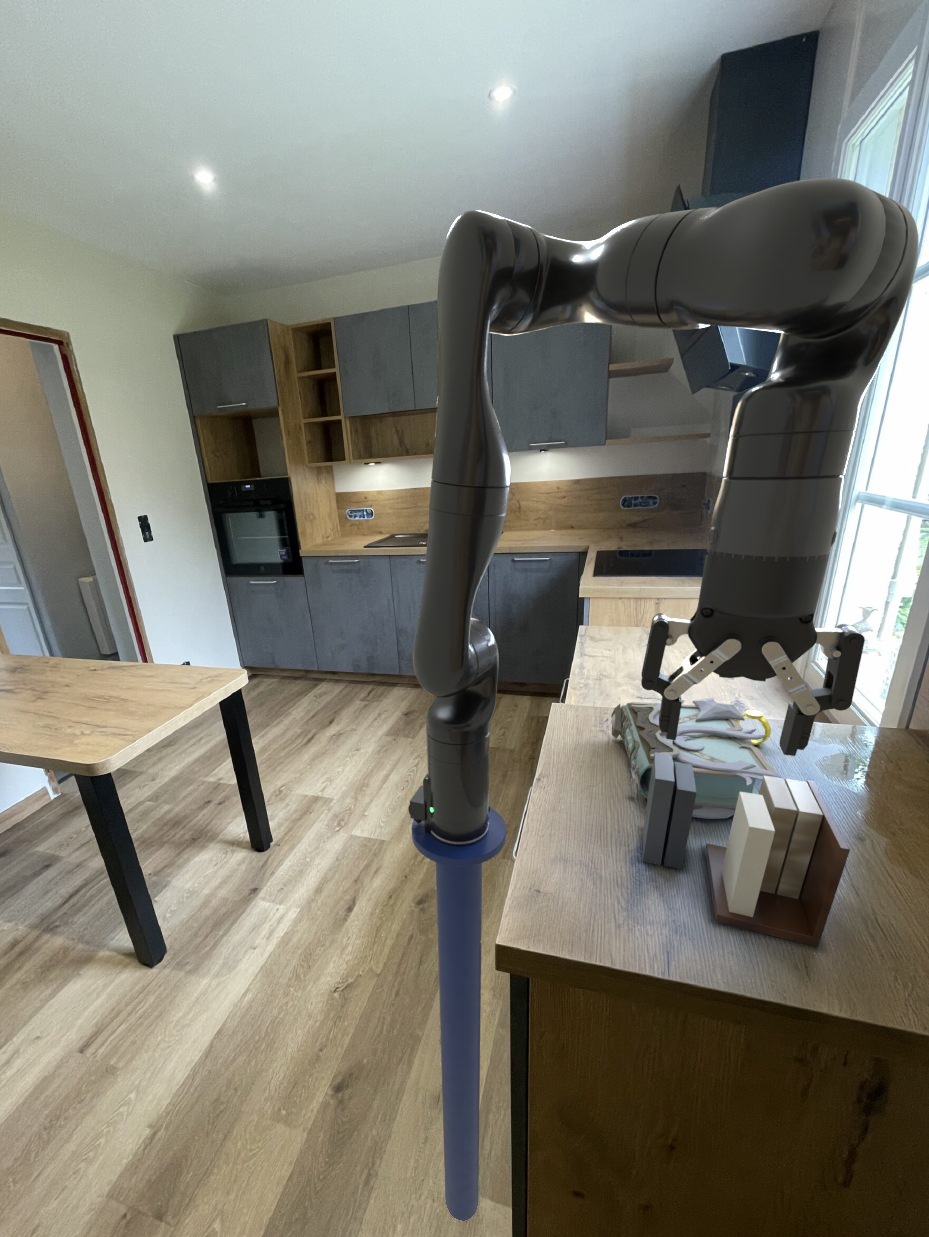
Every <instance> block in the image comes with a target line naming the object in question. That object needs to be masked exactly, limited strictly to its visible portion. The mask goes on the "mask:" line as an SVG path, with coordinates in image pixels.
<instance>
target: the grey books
mask: <svg viewBox="0 0 929 1237" xmlns="http://www.w3.org/2000/svg"><path fill="white" fill-rule="evenodd" d="M695 798H696V786H695V779H694V773H693V766H692V764H686V763H679V762H674V768H673V758H672V755H671V754H664V753H657V752H655V753H654V760H653V767H652V773H651V780H650V787H649V794H648V799H647V801H646V808H645V814H644V821H643V828H642V862H644V863H647V864H648V863H649V864H654V865H656V866H657V865H658V866H661V864H662V860H663V866H664V867H667V868H673V869H677V870H683V867H684V863H685V862H684V861H685V856H686V850H687V846H688V841H689V836H690V829H691V824H692V820H693V819H692V818H693V816H692V814H693V809H694V803H695Z"/></svg>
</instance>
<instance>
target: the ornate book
mask: <svg viewBox="0 0 929 1237" xmlns="http://www.w3.org/2000/svg"><path fill="white" fill-rule="evenodd" d="M648 699H649V700H651V699H654V700H659V701H660V703H657V702H641V701H640V702H639V701H631V702H627V703H626V704H625V705H624V704H623V705H621V703H619V704H618V705H616V706H615V707H614V708H613V711H612V713H611V719H610V723H611V735H612V736H613V737H614V739H617V738H619V737H620V739H621V740H622V742H623V745H624V747H625V751H626V754H627V757H628V765H629V769H630V774H631V777H632V778H630V781H629V784H630V787H631V798H634V802H637V796H638V791H639V792H640V794H641V796H642V797H643V798H645V799H647V800H648V794H649V787H650V780H651V773H652V767H653V760H654V753H655V752H657V753H664V754H671V755H672V758H673V768H674V762H679V763H686V764H692V766H693V773H694V779H695V786H696V798H695V803H694V809H693V814H692V818H699V819H708V820H710V819H711V820H714V819H715V820H716V819H717V820H718V819H719V820H720V819H728V818H730V817H732V816H734V814H735V809H736V805H737V800H738V796H739V792H746V793H752V794H758V795H759V791H760V789H759V788H758V786H757V785H756V780H758V781H761V782H762V778H763V776H770V777H777V778H783V779H784V781H785V779H786V778H784V777H782V776H781V775H780V774H779V773H778V772H777V771H776V770H775V769H774V768H773V767H772V766H771V765H770V763H769V762H768V761H767V759H766V758H765V757H764V755H763V753H762V751H761V750H760V748H758V747H756V746H755V744H754V743H753V742H752V741H751V740H756V741H758V740H762V739H763V738H764V737H766V736H767V735H765V734H755V732H756V731H757V728H754V729H746V730H743V726H742V725H741V724H740V723H739V724H738V722H737V721H736V720H740V721H744V722H745V717H744V716H742V714H741V712H740V711H739V710H738V709H737V707H736V706H735V704H733V703H725V702H716V701H715V700H714V699H715V698H714V697H708V698H703V699H702V698H701V699H695V700H692V704H684V703H685V700H683V699H682V705H681V711H680V717H679V723H678V729H677V735H676V740H670V739H666V732H661V730H660V727H659V714H660V708H661V701H662V697H661V698H660V697H653V696H651V697H642V698H640V700H648Z"/></svg>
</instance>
